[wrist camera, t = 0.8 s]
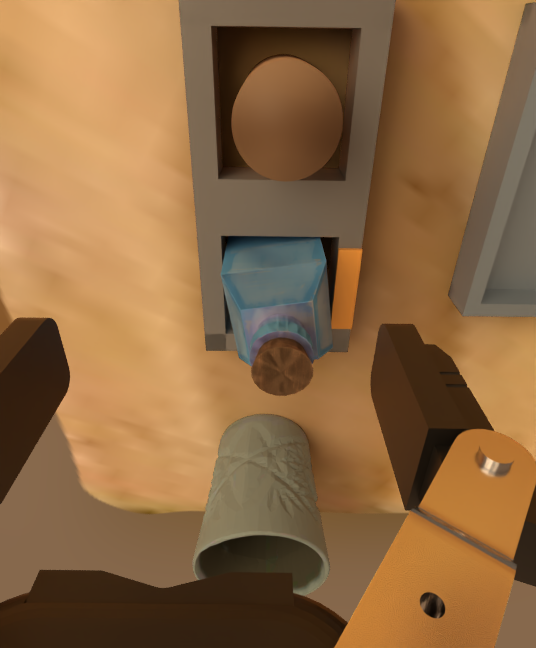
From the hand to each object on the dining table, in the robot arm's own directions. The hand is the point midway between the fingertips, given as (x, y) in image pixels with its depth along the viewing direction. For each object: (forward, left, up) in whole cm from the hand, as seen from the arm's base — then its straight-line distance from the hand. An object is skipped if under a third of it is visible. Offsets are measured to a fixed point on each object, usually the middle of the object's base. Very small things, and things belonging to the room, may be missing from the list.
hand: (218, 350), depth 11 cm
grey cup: (+27, +1, -21) cm, 34 cm away
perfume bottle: (+8, +2, -21) cm, 22 cm away
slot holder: (+2, +2, -21) cm, 21 cm away
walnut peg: (-3, +2, -21) cm, 21 cm away
